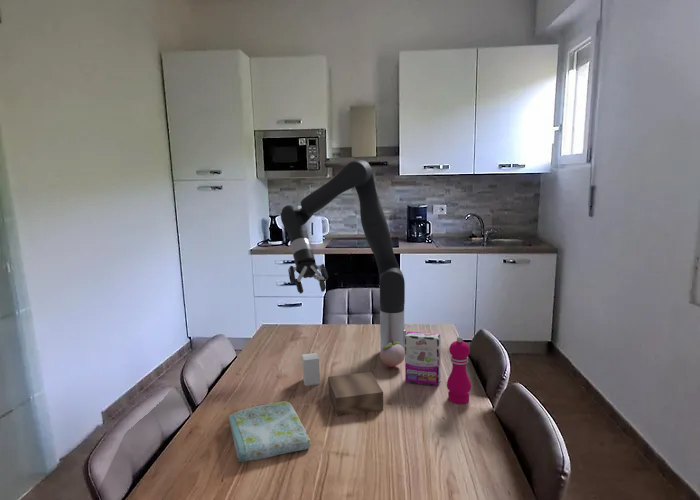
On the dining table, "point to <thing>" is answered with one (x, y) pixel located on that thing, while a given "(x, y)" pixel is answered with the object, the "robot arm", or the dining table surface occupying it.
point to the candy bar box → (422, 358)
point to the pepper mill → (459, 373)
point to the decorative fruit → (392, 354)
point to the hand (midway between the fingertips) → (312, 291)
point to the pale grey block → (311, 369)
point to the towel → (267, 431)
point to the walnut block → (355, 393)
